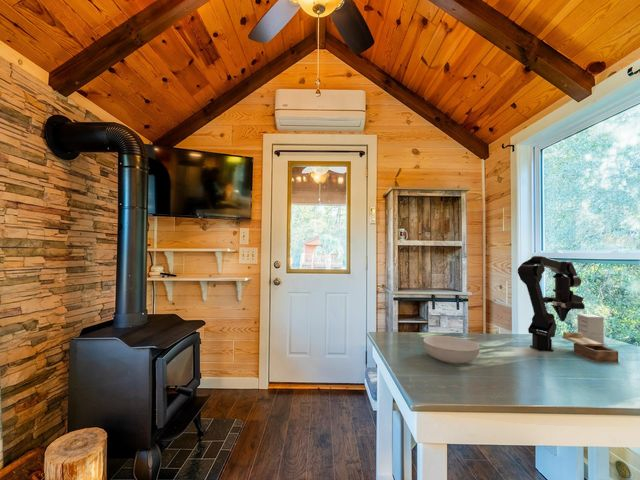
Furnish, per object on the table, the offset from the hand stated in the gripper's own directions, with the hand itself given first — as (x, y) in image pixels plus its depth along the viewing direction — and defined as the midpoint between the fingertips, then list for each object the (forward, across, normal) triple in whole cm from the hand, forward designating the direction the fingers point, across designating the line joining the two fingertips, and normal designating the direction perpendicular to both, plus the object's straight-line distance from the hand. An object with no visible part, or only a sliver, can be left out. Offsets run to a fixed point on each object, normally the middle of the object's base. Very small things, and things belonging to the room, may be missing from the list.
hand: (562, 321), depth 151 cm
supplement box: (+11, +7, -19) cm, 23 cm away
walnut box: (+11, -17, 0) cm, 21 cm away
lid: (+7, -11, 0) cm, 13 cm away
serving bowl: (+12, -22, +62) cm, 67 cm away
